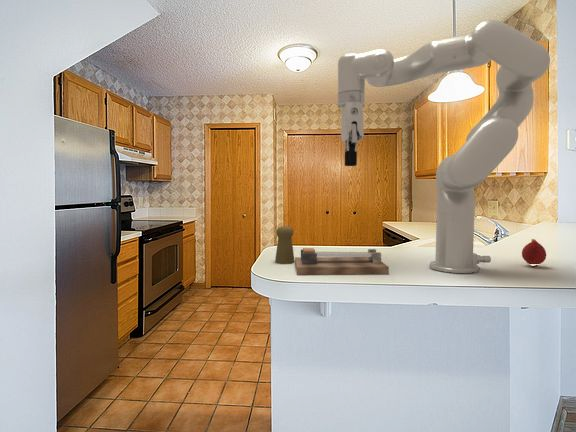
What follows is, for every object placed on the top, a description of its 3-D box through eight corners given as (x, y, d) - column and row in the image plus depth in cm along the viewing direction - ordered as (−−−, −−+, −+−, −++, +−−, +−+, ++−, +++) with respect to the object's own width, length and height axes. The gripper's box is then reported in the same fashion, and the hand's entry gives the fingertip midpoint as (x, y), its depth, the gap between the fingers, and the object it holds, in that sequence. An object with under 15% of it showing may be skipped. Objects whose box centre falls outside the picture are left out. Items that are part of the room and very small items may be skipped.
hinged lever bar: (374, 255, 105) (374, 248, 104) (377, 257, 101) (378, 250, 101) (302, 254, 104) (302, 247, 104) (303, 256, 101) (303, 250, 101)
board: (374, 263, 110) (375, 246, 110) (388, 274, 96) (389, 255, 96) (295, 264, 110) (295, 247, 109) (297, 275, 96) (297, 256, 95)
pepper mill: (292, 264, 109) (292, 227, 108) (272, 263, 110) (272, 227, 109) (296, 260, 115) (296, 225, 114) (277, 259, 116) (277, 225, 115)
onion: (545, 266, 106) (546, 238, 105) (546, 269, 101) (547, 241, 100) (521, 263, 109) (522, 237, 108) (521, 267, 104) (522, 239, 104)
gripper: (370, 94, 97) (369, 164, 98) (358, 106, 112) (358, 167, 113) (342, 94, 97) (342, 164, 98) (334, 106, 112) (333, 167, 113)
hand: (350, 165), depth 106 cm, fingers closed
